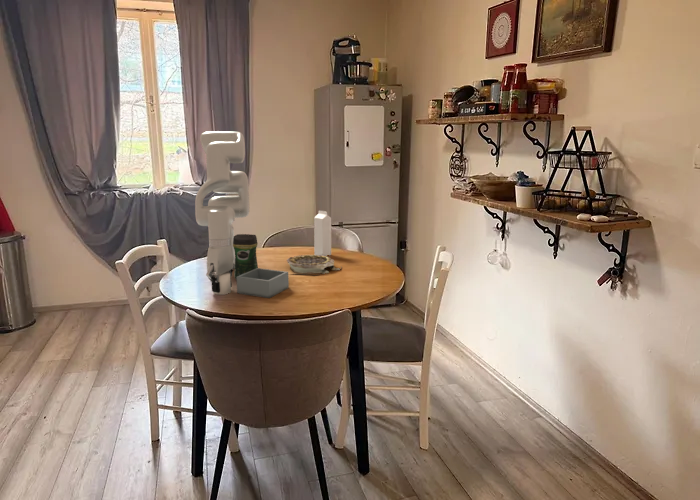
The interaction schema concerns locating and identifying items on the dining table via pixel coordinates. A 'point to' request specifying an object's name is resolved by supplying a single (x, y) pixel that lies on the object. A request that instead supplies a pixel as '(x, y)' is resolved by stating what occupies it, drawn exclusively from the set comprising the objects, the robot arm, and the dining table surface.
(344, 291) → the dining table surface
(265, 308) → the dining table surface
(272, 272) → the tub
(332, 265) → the pie
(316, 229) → the milk
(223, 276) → the cream rounded block
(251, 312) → the dining table surface
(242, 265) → the coffee jar
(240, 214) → the robot arm
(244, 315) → the dining table surface
